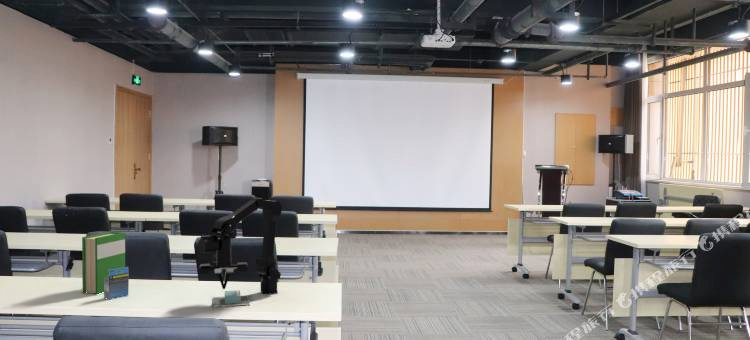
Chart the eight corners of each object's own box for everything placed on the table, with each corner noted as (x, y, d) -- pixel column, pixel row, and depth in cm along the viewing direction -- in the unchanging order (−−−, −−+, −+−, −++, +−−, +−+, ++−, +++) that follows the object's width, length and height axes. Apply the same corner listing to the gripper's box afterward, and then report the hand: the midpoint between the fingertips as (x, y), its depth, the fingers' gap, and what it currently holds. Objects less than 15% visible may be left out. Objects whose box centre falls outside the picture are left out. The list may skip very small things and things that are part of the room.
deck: (224, 298, 243) (239, 297, 244) (225, 303, 234) (240, 303, 236) (224, 291, 243) (239, 290, 244) (225, 296, 234) (240, 295, 235)
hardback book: (97, 295, 248) (97, 238, 247) (82, 293, 250) (82, 237, 249) (125, 285, 265) (125, 232, 264) (111, 284, 267) (110, 231, 266)
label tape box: (123, 294, 250) (123, 265, 249) (129, 295, 247) (129, 266, 247) (103, 298, 242) (103, 268, 242) (109, 300, 240) (109, 269, 240)
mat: (247, 296, 248) (247, 295, 248) (249, 305, 234) (249, 304, 234) (213, 298, 244) (213, 297, 244) (213, 307, 230) (213, 306, 230)
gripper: (246, 246, 248) (246, 283, 248) (200, 247, 243) (200, 285, 243) (248, 250, 237) (248, 289, 238) (199, 252, 232) (199, 292, 233)
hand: (223, 288), depth 238 cm, fingers closed
